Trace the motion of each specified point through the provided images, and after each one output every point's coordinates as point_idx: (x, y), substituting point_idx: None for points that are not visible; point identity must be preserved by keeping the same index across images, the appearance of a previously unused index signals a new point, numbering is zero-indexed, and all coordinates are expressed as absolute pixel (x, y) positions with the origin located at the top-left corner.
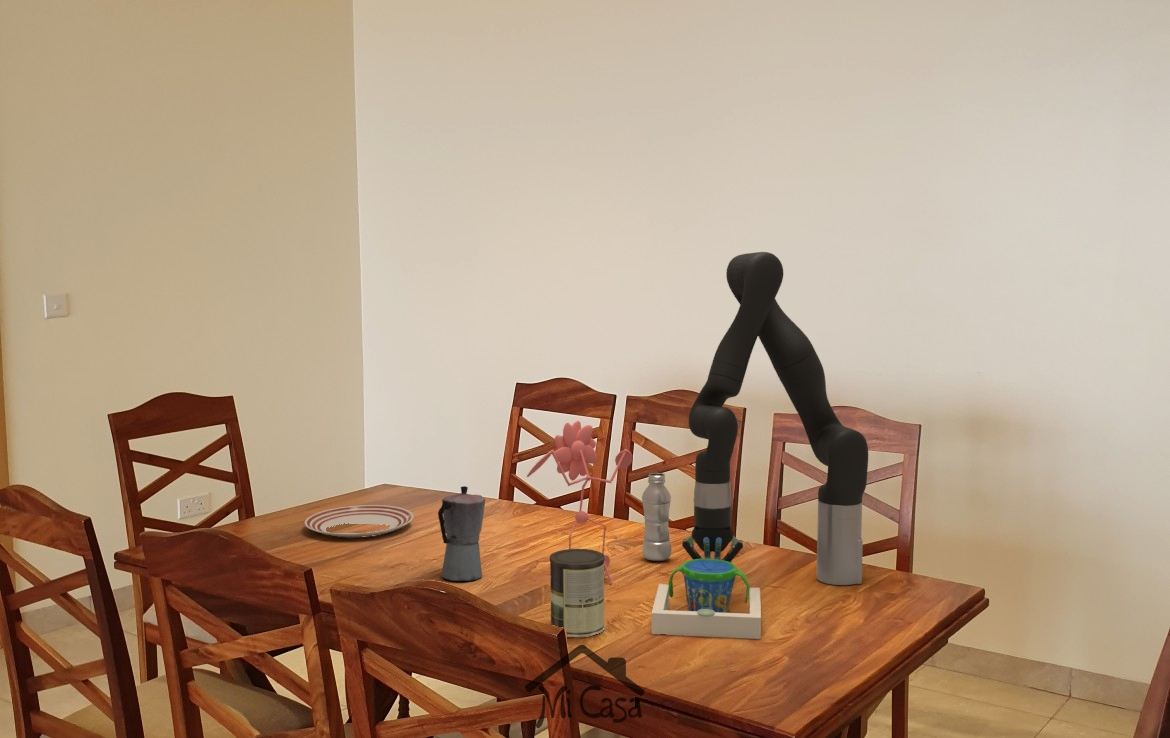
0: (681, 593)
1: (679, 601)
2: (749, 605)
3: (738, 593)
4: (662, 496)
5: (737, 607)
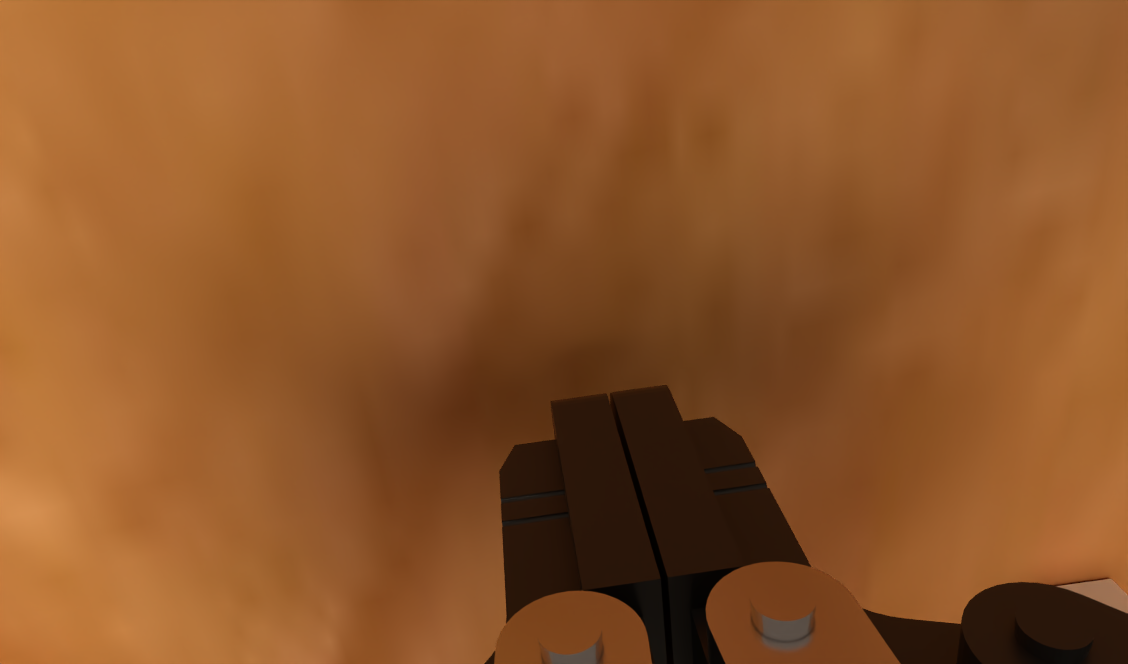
0: (137, 333)
1: (221, 616)
2: None
3: (937, 142)
4: None
5: None
